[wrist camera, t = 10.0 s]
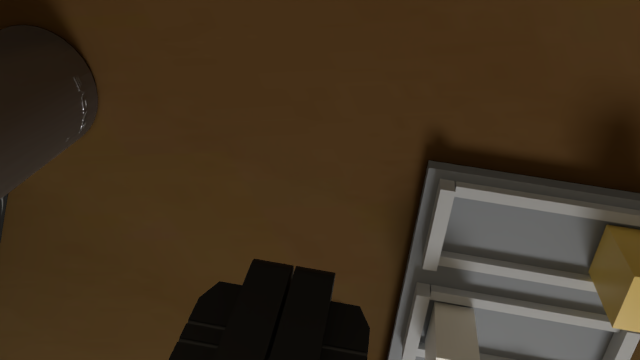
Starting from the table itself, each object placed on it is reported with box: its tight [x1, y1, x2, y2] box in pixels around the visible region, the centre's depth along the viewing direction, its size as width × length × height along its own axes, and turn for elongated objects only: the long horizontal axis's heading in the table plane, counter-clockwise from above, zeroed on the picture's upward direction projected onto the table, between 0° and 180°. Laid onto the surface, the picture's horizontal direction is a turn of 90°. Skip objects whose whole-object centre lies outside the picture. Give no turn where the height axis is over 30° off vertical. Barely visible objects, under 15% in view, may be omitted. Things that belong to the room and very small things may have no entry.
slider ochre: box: [588, 225, 640, 333], centre depth 39 cm, size 3×4×6 cm
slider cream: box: [425, 302, 480, 360], centre depth 44 cm, size 3×4×6 cm
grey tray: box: [387, 160, 640, 360], centre depth 45 cm, size 18×24×4 cm
